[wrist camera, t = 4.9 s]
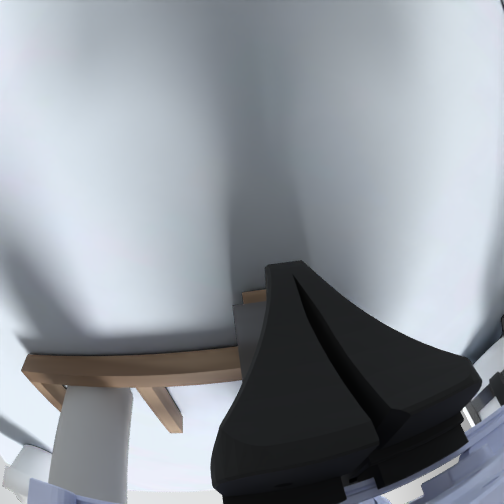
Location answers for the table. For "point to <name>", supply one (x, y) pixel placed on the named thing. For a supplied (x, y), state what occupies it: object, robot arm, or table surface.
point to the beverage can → (93, 443)
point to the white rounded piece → (27, 470)
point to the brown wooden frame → (155, 367)
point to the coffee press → (488, 383)
